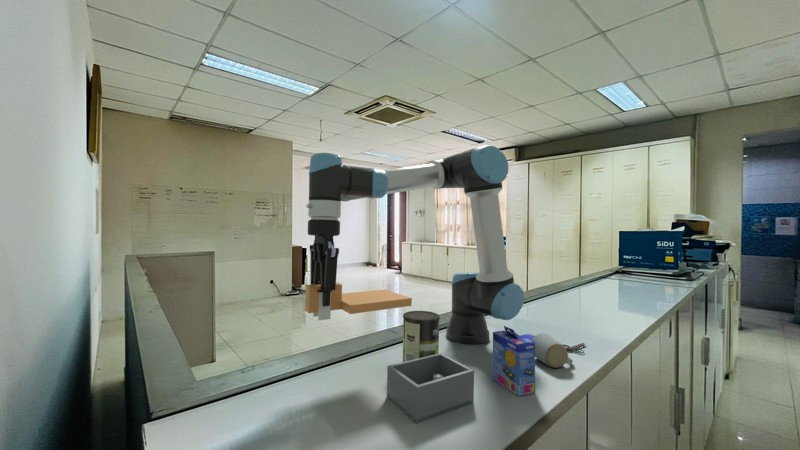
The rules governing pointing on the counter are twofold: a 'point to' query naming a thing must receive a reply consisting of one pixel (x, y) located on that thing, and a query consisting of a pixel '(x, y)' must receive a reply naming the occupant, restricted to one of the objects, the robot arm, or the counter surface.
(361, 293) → the lid
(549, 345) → the ceramic mug
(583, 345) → the keychain
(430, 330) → the coffee can
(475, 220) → the robot arm
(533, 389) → the ink cartridge box
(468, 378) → the parts tub
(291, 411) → the counter surface
